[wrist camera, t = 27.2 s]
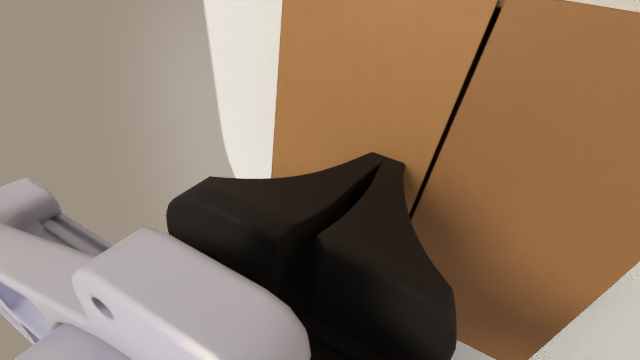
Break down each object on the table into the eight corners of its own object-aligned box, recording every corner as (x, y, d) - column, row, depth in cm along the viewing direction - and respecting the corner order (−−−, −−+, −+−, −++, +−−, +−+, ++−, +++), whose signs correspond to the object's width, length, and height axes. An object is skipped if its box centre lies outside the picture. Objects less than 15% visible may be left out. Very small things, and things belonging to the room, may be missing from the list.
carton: (322, 182, 22) (265, 242, 16) (361, -29, 15) (283, -47, 9) (510, 260, 18) (517, 372, 13) (687, 26, 11) (885, 51, 5)
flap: (269, 239, 17) (266, 243, 16) (289, -44, 9) (285, -45, 9) (376, 292, 15) (374, 297, 15) (501, -9, 8) (502, -9, 7)
